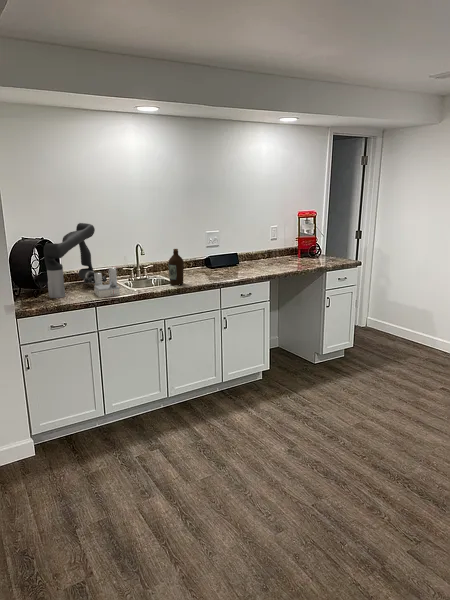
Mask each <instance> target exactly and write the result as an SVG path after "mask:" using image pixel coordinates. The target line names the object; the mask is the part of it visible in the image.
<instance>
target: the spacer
mask: <svg viewBox="0 0 450 600" xmlns="http://www.w3.org/2000/svg"><path fill="white" fill-rule="evenodd" d="M102 276H103V275H102V272H95V273H94V278H95V283H94V286H98V285H103V281H102Z"/></svg>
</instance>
